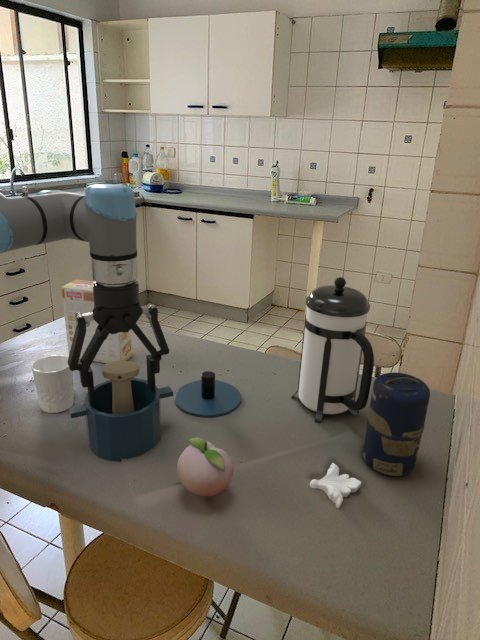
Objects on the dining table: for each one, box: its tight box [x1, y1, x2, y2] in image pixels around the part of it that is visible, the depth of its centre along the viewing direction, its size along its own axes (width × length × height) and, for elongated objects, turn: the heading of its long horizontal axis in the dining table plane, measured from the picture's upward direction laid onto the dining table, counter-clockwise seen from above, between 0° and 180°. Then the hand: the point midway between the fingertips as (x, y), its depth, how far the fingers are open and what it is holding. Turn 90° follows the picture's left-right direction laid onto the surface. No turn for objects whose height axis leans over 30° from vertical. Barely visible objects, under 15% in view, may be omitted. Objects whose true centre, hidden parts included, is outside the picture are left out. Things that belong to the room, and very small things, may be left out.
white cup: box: [31, 354, 75, 414], centre depth 98 cm, size 8×8×10 cm
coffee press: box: [291, 276, 375, 424], centre depth 96 cm, size 17×16×30 cm
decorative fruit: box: [176, 437, 235, 497], centre depth 75 cm, size 9×8×10 cm
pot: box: [68, 377, 174, 462], centre depth 88 cm, size 14×19×10 cm
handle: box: [101, 360, 140, 414], centre depth 87 cm, size 5×6×15 cm
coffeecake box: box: [61, 279, 134, 364], centre depth 118 cm, size 15×7×20 cm, turn 77°
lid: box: [174, 370, 242, 418], centre depth 102 cm, size 15×15×7 cm
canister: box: [362, 372, 431, 477], centre depth 83 cm, size 10×10×18 cm
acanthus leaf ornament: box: [309, 462, 362, 510], centre depth 79 cm, size 8×7×2 cm
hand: (122, 394), depth 86 cm, fingers open, 10 cm apart
